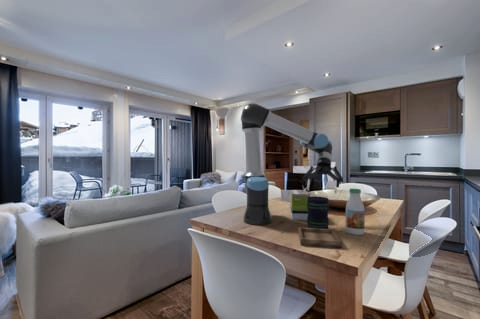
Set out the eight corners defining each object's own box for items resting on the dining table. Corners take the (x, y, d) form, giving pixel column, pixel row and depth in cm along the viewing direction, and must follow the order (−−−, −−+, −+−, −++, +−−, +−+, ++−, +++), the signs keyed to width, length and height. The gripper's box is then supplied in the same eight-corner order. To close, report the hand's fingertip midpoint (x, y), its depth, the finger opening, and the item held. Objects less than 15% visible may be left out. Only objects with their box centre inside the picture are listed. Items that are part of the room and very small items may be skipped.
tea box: (289, 213, 139) (289, 189, 139) (306, 214, 138) (306, 189, 138) (291, 219, 124) (292, 193, 124) (310, 220, 123) (310, 193, 123)
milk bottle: (341, 231, 105) (342, 188, 105) (353, 229, 108) (353, 187, 108) (356, 236, 98) (356, 190, 98) (368, 234, 101) (368, 189, 101)
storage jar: (302, 228, 110) (302, 197, 109) (315, 224, 115) (315, 195, 115) (320, 233, 101) (320, 200, 101) (333, 230, 107) (333, 198, 107)
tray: (300, 245, 88) (300, 238, 88) (298, 232, 103) (298, 227, 103) (341, 248, 85) (341, 241, 85) (333, 235, 100) (333, 229, 100)
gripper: (348, 166, 127) (347, 196, 114) (302, 165, 138) (298, 193, 125) (348, 156, 122) (347, 187, 109) (301, 156, 133) (296, 184, 120)
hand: (321, 190), depth 117 cm, fingers open, 13 cm apart
